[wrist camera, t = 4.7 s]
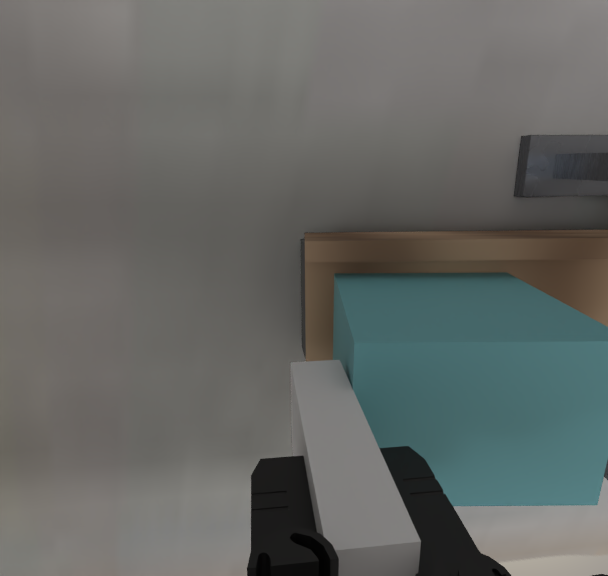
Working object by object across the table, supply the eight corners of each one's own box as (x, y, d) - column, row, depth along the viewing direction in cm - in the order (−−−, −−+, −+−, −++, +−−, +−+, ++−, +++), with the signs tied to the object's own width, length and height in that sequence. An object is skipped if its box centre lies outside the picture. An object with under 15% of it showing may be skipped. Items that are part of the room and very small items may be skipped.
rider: (332, 384, 19) (349, 506, 12) (334, 273, 17) (354, 342, 11) (492, 383, 19) (597, 505, 12) (506, 272, 18) (634, 341, 11)
